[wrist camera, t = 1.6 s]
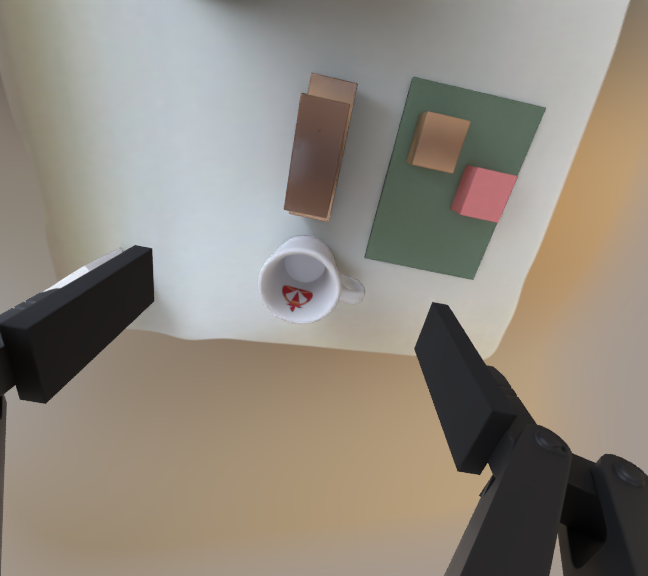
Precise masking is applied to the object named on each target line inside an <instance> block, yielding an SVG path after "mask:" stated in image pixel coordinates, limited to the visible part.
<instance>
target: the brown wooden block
mask: <svg viewBox="0 0 648 576" xmlns="http://www.w3.org/2000/svg"><path fill="white" fill-rule="evenodd" d="M357 85H358V84H357V83H352V82H348V81H344V80H339V79H335V78H331V77H327V76H322V75H318V74H314V73H311V77H310V84H309V90H308V94H304V93H301V96H300V103H299V110H298V117H297V123H296V130H295V137H294V144H293V150H292V157H291V164H290V171H289V177H288V184H287V191H286V198H285V204H284V210H288V211H290V212H289V214H292V215H297V216H302V217H307V218H312V219H317V220H321V221H326V222H329V219H330V214H331V209H332V204H333V200H334V195H335V190H336V185H337V180H338V176H339V171H340V166H341V161H342V157H343V152H344V147H345V142H346V137H347V133H348V128H349V123H350V118H351V113H352V109H353V104H354V99H355V94H356V89H357Z"/></svg>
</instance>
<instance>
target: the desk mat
mask: <svg viewBox="0 0 648 576" xmlns="http://www.w3.org/2000/svg"><path fill="white" fill-rule="evenodd" d="M545 110H546V108H544V107H539V106H535V105H531V104H527V103H522V102H518V101H514V100H510V99H505V98H501V97H497V96H493V95H489V94H484V93H480V92H476V91H472V90H467V89H463V88H459V87H455V86H450V85H446V84H442V83H438V82H433V81H429V80H425V79H421V78H416V77H413V78H412V82H411V85H410V89H409V93H408V97H407V100H406V104H405V108H404V111H403V115H402V119H401V123H400V126H399V130H398V134H397V138H396V141H395V145H394V149H393V153H392V156H391V160H390V164H389V168H388V171H387V175H386V179H385V183H384V186H383V190H382V194H381V198H380V201H379V205H378V209H377V213H376V216H375V220H374V224H373V228H372V231H371V235H370V239H369V243H368V246H367V250H366V254H365V258H368V259H373V260H378V261H383V262H387V263H392V264H397V265H402V266H407V267H412V268H417V269H422V270H427V271H432V272H437V273H442V274H447V275H452V276H457V277H462V278H467V279H472V280H473V279H474V276H475V274H476V272H477V269H478V267H479V264H480V262H481V260H482V257H483V255H484V253H485V250H486V248H487V246H488V243H489V241H490V239H491V236H492V234H493V232H494V229H495V227H496V225H497V222H492V221H487V220H482V219H478V218H473V217H468V216H464V215H460V214H458V213H457V212H455V211H453V210H452V209H451V206H452V203H453V200H454V197H455V195H456V192H457V189H458V186H459V183H460V181H461V178H462V175H463V172H464V169H465V167H466V165H469V166H474V167H479V168H483V169H488V170H492V171H497V172H501V173H506V174H510V175H515V176H517V175H518V173H519V171H520V168H521V166H522V164H523V161H524V159H525V157H526V154H527V152H528V150H529V147H530V145H531V143H532V140H533V138H534V135H535V133H536V131H537V128H538V126H539V124H540V121H541V119H542V117H543V114H544V112H545ZM428 111H429V112H434V113H438V114H442V115H447V116H451V117H455V118H460V119H464V120H469V121H471V123H470V126H469V129H468V131H467V134H466V137H465V140H464V143H463V146H462V149H461V152H460V154H459V157H458V160H457V163H456V166H455V169H454V172H453V173H447V172H443V171H438V170H434V169H429V168H425V167H420V166H416V165H412V164H409V163H406V160H407V157H408V153H409V150H410V146H411V143H412V139H413V136H414V132H415V129H416V125H417V122H418V118H419V115H420V114H421V113H424V112H428Z"/></svg>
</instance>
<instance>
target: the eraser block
mask: <svg viewBox="0 0 648 576" xmlns="http://www.w3.org/2000/svg"><path fill="white" fill-rule="evenodd" d="M517 178H518V176H515V175H510V174H506V173H501V172H497V171H492V170H488V169H483V168H479V167H474V166H469V165H466V167H465V169H464V172H463V175H462V178H461V181H460V183H459V186H458V189H457V192H456V195H455V197H454V200H453V203H452V206H451V209H452V210H453V211H455V212H457V213H458V214H460V215H464V216H468V217H473V218H478V219H482V220H487V221H492V222H497V223H498V222H499V220H500V217H501V215H502V213H503V210H504V208H505V206H506V203H507V201H508V199H509V196H510V194H511V192H512V189H513V187H514V185H515V182H516V180H517Z"/></svg>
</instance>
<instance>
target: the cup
mask: <svg viewBox="0 0 648 576" xmlns="http://www.w3.org/2000/svg"><path fill="white" fill-rule="evenodd" d="M346 287H347V288H346ZM348 288H349V289H348ZM258 290H259V295H260V297H261V300H262V302H263V303H264V305H265V306H266V308H267V309H268V310H269V311H270V312H271V313H272V314H273V315H275V316H276V317H278V318H280V319H281V320H284V321H286V322H290V323H295V324H308V323H313V322H316V321H318V320H320V319H322V318H324V317H326V316H327V315H328V314H329V313H330V312H331V311H332V310H333V309H334V308H335V306H336V305H337V303H338V302H344V303H349V304H358V303H360V302H361V301H362V300H363V298H364V295H365V288H364V286H363V284H362V283H361V282H360V281H358V280H357V279H355V278H353V277H350V276H347V275H344V274H340V273H339V272H338V269H337V266H336V263H335V260H334V257H333V254H332V252H331V250H330V249H329V248H328V246H327V245H326V244H325V243H324V242H322V241H321V240H319V239H317V238H315V237H312V236H296V237H293V238H291V239H289V240H287V241H286V242H285V243H283V244H282V245H281V246H280V247H279V248H278V249H277V250H276V251H275V252H274V254H273V255H272V256H271V257H270V258H269V259H268V260H267V261H266V262H265V264H264V265H263V267H262V269H261V271H260V274H259V278H258Z"/></svg>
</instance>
